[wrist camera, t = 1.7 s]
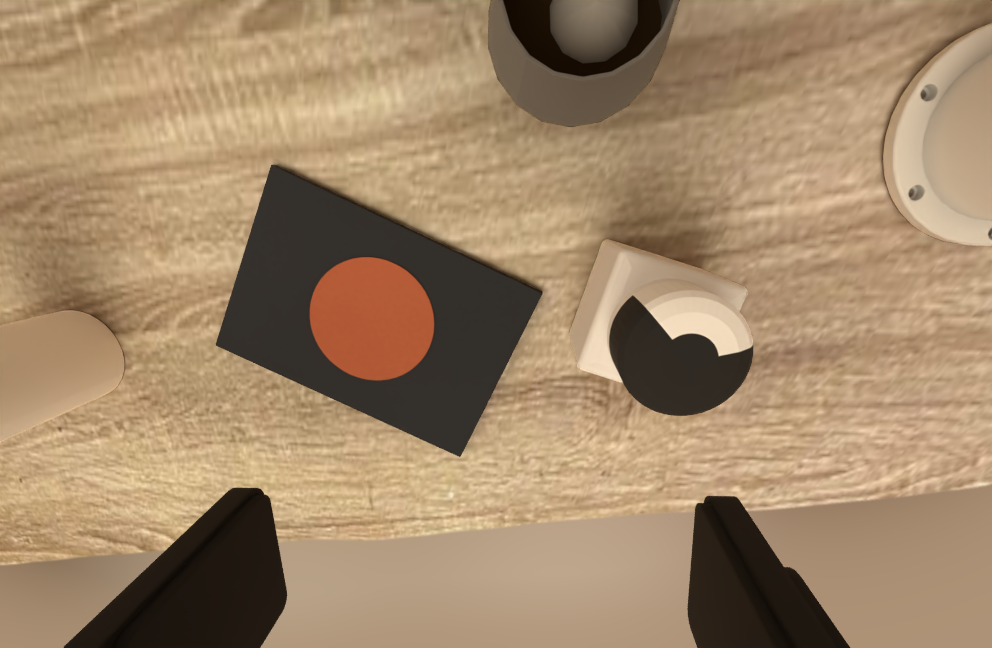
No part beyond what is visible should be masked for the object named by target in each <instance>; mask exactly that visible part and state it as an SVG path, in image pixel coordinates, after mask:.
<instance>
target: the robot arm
mask: <svg viewBox="0 0 992 648" xmlns="http://www.w3.org/2000/svg"><path fill="white" fill-rule="evenodd" d="M883 165H884V176H885V181H886V184H887V187H888V190H889V194H890V197H891V198H892V200H893V202H894V203H895V205H896V207H897V208H898V210H899V212H900V213H901V214H902V215H903V216H904V217H905V218H906V219H907V220H908V221H909V222H910V223H911V224H912V225H913V226H914V227H916V228H917V229H919V230H920V231H922V232H924V233H925V234H927V235H929V236H931V237H934V238H937V239H939V240H942V241H945V242H950V243H957V244H963V245H977V246H992V23H990V24H988V25H985V26H983V27H980V28H978V29H975V30H973V31H972V32H970V33H968V34H966V35H964V36H963V37H961V38H959V39H957V40H955V41H953V42H952V43H951V44H950V45H948V46H947V47H946V48H944V49H943V50H942V51H940V52H939V53H938V54H936V55H935V56H934V57H933V58H932V59H931V60H930V61H929V62H928V63H927V64H926V65H925V66H924V67H923V68H922V69H921V70H920V71H919V72H918V73H917V74H916V76H915V77H914V78H913V80H912V81H911V83H910V84H909V86H908V87H907V88H906V90H905V91H904V93H903V94H902V96H901V98H900V100H899V102H898V104H897V106H896V108H895V110H894V112H893V114H892V116H891V119H890V123H889V126H888V130H887V133H886V136H885V143H884V153H883ZM286 600H287V590H286V585H285V579H284V573H283V568H282V562H281V557H280V551H279V546H278V540H277V535H276V529H275V524H274V518H273V513H272V507H271V502H270V498H269V497H268V496H267V495H264V493H263V491H262V490H261V489H259V488H232V489H231V490H229V491H228V492H227V493H226V494H225V495H224V496H223V497H222V498H221V499H220V500H219V501H217V502H216V503H215V504H214V505H213V506H212V507H211V508H210V509H209V510H208V511H207V512H206V513H205V514H204V515H203V516H202V517H201V518H199V519H198V520H197V521H196V522H195V523H194V524H193V525H192V526H191V527H190V528H189V529H188V530H187V531H186V532H185V533H184V534H183V535H181V536H180V537H179V538H178V539H177V540H176V541H175V542H174V543H173V544H172V545H171V546H170V547H169V548H168V549H167V550H166V551H165V552H164V553H163V554H161V555H160V556H159V557H158V558H157V559H156V560H155V561H154V562H153V563H152V564H151V565H150V566H149V567H148V568H147V569H146V570H145V571H144V572H142V573H141V574H140V575H139V576H138V577H137V578H136V579H135V580H134V581H133V582H132V583H131V584H130V585H129V586H128V587H126V588H125V590H123V591H122V592H121V593H120V594H119V595H118V596H117V597H116V598H115V599H114V600H113V601H112V602H111V603H110V604H109V605H107V606H106V607H105V608H104V609H103V610H102V611H101V612H100V613H99V614H98V615H97V616H96V617H95V618H94V619H93V620H92V621H91V622H89V623H88V624H87V625H86V626H85V627H84V628H83V629H82V630H81V631H80V632H79V633H78V634H77V635H76V636H75V637H74V638H73V639H72V640H70V641H69V642H68V643H67V644H66V645H65V646H64V648H260V647H261V645H262V644H263V642H264V641H265V639H266V637H267V636H268V634H269V633H270V631H271V629H272V628H273V626H274V624H275V623H276V621H277V620H278V618H279V616H280V615H281V613H282V611H283V609H284V607H285V604H286ZM688 618H689V624H690V628H691V631H692V633H693V636H694V639H695V642H696V645H697V648H850V647H849V645H848V644H847V643H846V641H845V640H844V638H843V637H842V635H841V634H840V633H839V631H838V630H837V628H836V627H835V625H834V624H833V622H832V621H831V619H830V618H829V617H828V615H827V614H826V612H825V611H824V609H823V608H822V607H821V605H820V604H819V602H818V601H817V599H816V598H815V597H814V595H813V594H812V592H811V591H810V589H809V588H808V586H807V585H806V583H805V582H804V581H803V579H802V578H801V577H800V575H799V574H798V573H797V572H796V571H795V570H794V569H792V568H790V567H789V568H788V567H783V565H782V564H781V562H780V561H779V559H778V558H777V556H776V555H775V553H774V552H773V550H772V549H771V547H770V546H769V544H768V543H767V541H766V540H765V538H764V537H763V535H762V534H761V532H760V531H759V529H758V528H757V526H756V525H755V523H754V522H753V520H752V519H751V517H750V516H749V514H748V513H747V511H746V510H745V508H744V507H743V505H742V504H741V502H740V500H739V499H738V498H737V497H734V496H707V497H706V498H705V500H704V503H698V504H697V505H696V508H695V519H694V533H693V545H692V558H691V571H690V584H689V597H688Z"/></svg>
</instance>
